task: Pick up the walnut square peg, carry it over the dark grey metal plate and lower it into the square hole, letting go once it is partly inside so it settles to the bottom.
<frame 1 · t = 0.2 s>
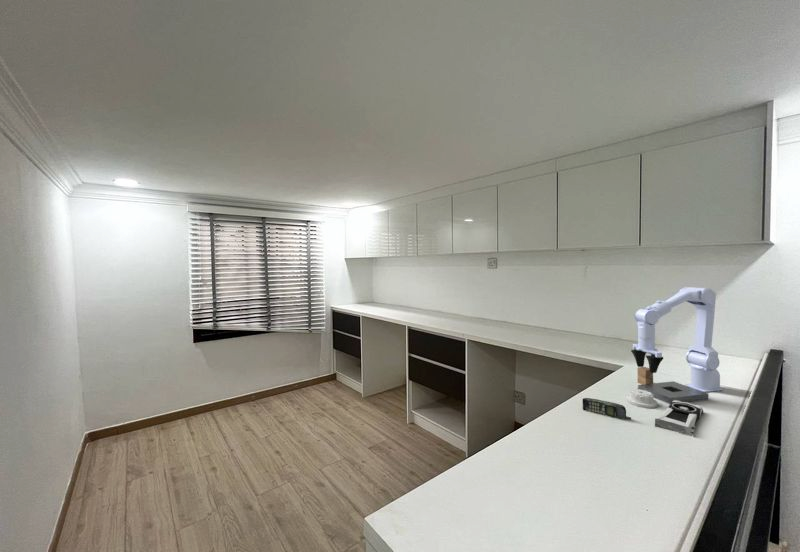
hand: (646, 369, 137), 10 cm above the worktop, tool pointing down, fingers open, 7 cm apart
graphics card: (682, 421, 114), on the worktop
mobile phone: (605, 415, 120), on the worktop
hole plate: (671, 395, 134), on the worktop
mechanical component: (641, 403, 128), on the worktop
walnut peg: (645, 383, 147), on the worktop
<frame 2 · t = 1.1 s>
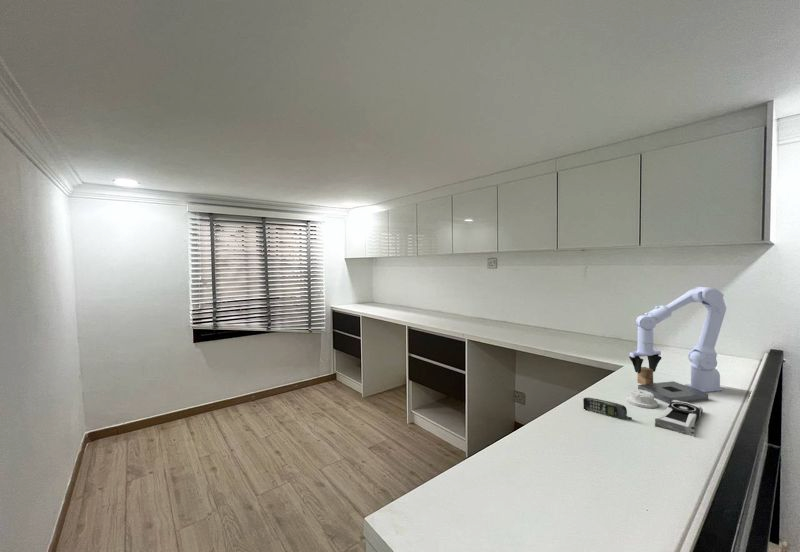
hand: (645, 371, 147), 5 cm above the worktop, tool pointing down, fingers open, 7 cm apart
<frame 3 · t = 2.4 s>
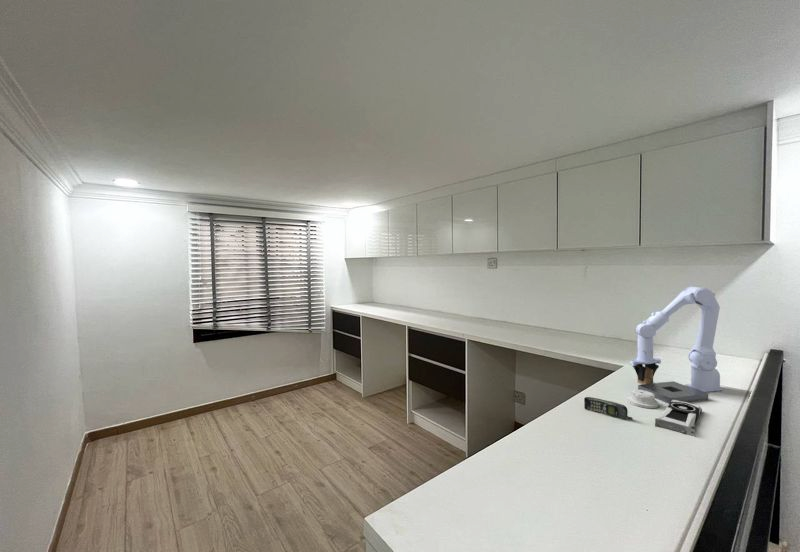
hand: (645, 379, 147), 2 cm above the worktop, tool pointing down, fingers closed on walnut peg, 4 cm apart
walnut peg: (645, 383, 147), on the worktop, touching gripper
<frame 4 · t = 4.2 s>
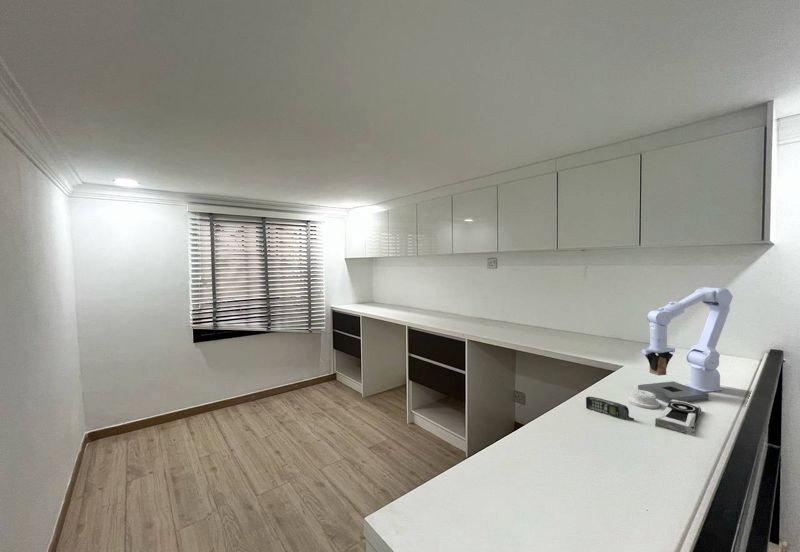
hand: (658, 369, 140), 9 cm above the worktop, tool pointing down, fingers closed on walnut peg, 4 cm apart
walnut peg: (657, 373, 141), point 7 cm above the worktop, touching gripper
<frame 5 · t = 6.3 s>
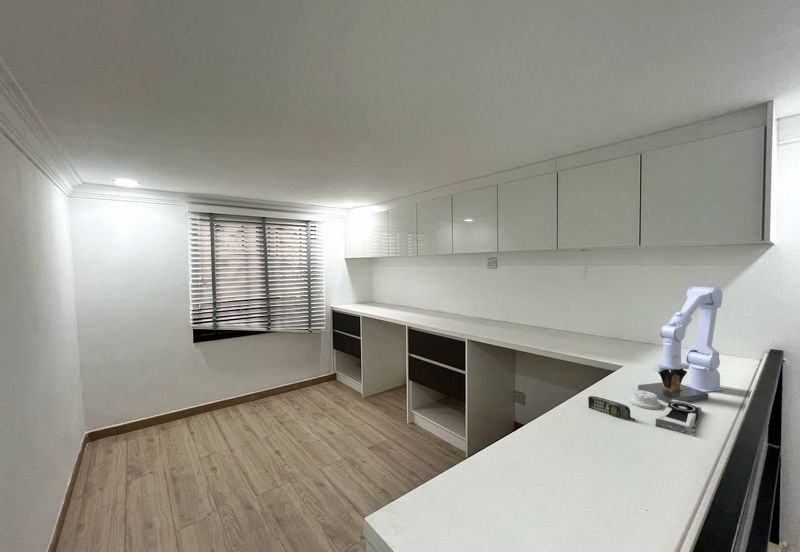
hand: (671, 387, 134), 3 cm above the worktop, tool pointing down, fingers closed on walnut peg, 4 cm apart
walnut peg: (670, 391, 135), point 1 cm above the worktop, touching gripper
when the fingers open (3 cm above the worktop, at t = 6.6 s): walnut peg drops 1 cm, resting in hole plate.
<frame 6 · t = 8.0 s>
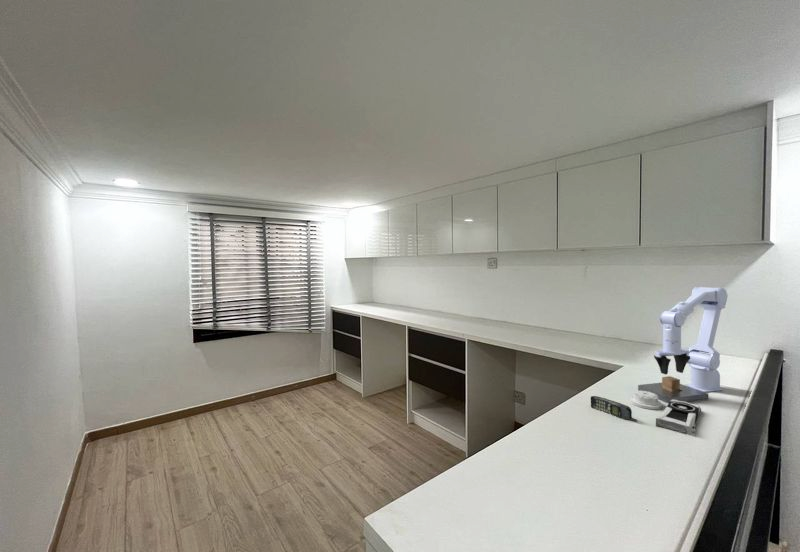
hand: (671, 372, 134), 9 cm above the worktop, tool pointing down, fingers open, 7 cm apart
walnut peg: (670, 394, 135), resting in hole plate
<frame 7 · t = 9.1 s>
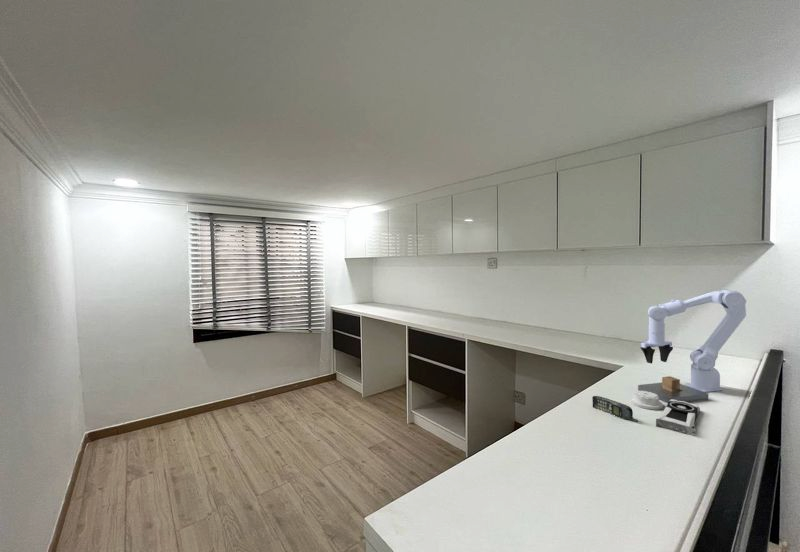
hand: (656, 362, 148), 9 cm above the worktop, tool pointing down, fingers open, 7 cm apart
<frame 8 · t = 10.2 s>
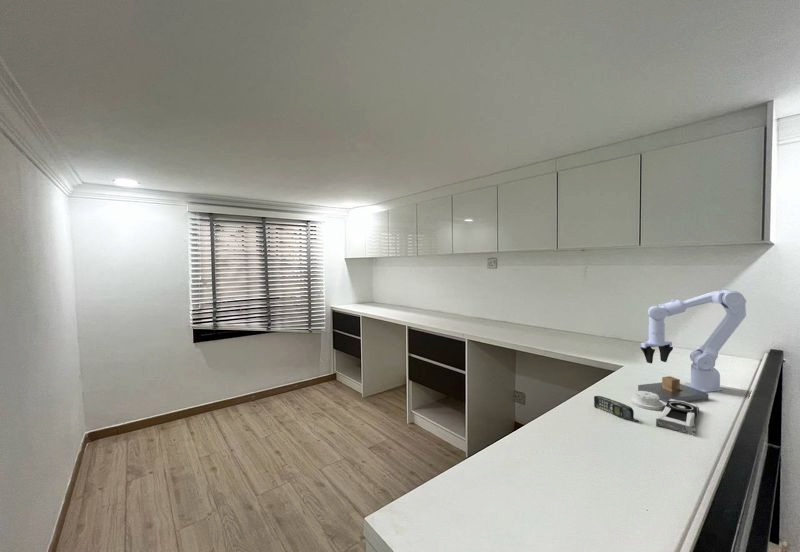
hand: (656, 362, 148), 9 cm above the worktop, tool pointing down, fingers open, 7 cm apart
at the end: walnut peg 0.4 cm off-centre on the hole plate, point 0.0 cm above the hole plate's base; walnut peg tilted 0°; the gripper is holding nothing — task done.
